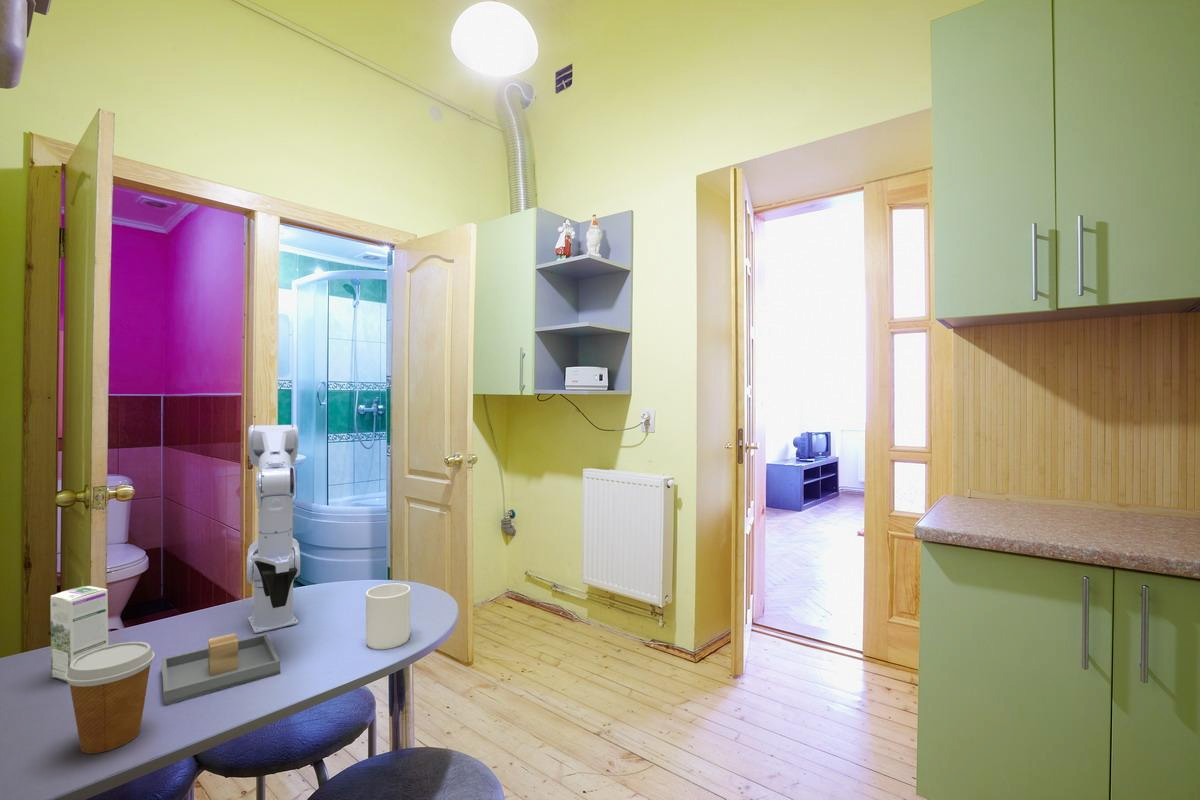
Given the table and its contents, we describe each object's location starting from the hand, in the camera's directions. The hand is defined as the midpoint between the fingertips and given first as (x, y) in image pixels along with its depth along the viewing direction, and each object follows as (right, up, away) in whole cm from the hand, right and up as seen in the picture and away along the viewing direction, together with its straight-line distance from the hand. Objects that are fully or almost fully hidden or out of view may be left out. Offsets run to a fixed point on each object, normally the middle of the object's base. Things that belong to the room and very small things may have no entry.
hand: (275, 600), depth 105 cm
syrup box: (-29, -10, -10) cm, 32 cm away
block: (-4, -9, -9) cm, 13 cm away
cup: (+19, -10, +5) cm, 22 cm away
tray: (-4, -9, -9) cm, 14 cm away
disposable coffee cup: (-7, -10, -28) cm, 30 cm away
